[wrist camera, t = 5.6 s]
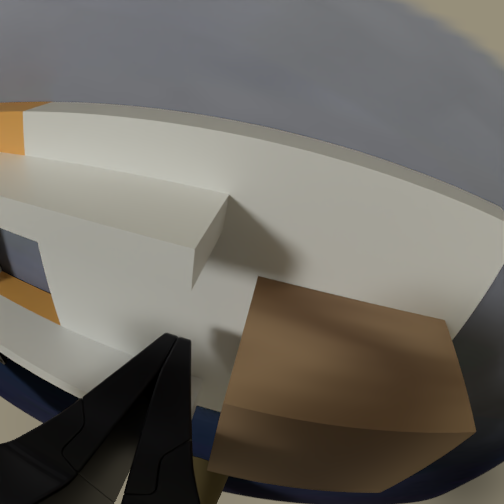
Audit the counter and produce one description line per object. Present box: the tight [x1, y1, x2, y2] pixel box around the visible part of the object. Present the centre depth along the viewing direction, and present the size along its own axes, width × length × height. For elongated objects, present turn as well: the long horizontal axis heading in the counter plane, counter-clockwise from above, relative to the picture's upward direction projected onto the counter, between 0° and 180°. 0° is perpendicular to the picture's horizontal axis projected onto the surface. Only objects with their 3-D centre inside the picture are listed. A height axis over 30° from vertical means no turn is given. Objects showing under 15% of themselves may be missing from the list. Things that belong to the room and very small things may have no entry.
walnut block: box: [207, 276, 476, 493], centre depth 8 cm, size 6×5×4 cm
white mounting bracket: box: [0, 102, 504, 420], centre depth 10 cm, size 22×12×4 cm, turn 79°
